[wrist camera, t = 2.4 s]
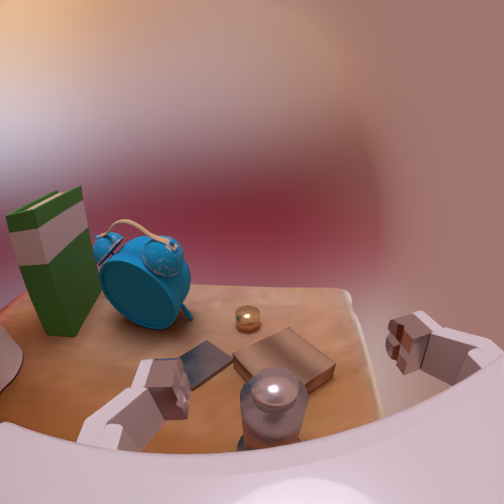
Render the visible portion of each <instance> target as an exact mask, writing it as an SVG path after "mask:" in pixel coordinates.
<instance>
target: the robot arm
mask: <svg viewBox="0 0 504 504" xmlns="http://www.w3.org/2000/svg"><path fill="white" fill-rule="evenodd" d="M388 329H389V331H390V334H389V335H388V336H387V338H386V351H387V353H388V355H389V356H390V358H391V359H393V360H396V361H397V364H396V366H397V367H398V368H399V369H400V371H401V372H402V374H403V375H406V374H408V373H411V372H414V371H417V370H419V369H421V370H422V371H424V372H426V373H428V374H430V375H432V376H434V377H436V378H438V379H440V380H442V381H444V382H446V383H448V384H450V385H452V387H450V388H448V389H446V390H444V391H442V392H440V393H439V394H437V395H435V396H433V397H431V398H429V399H427V400H425V401H423V402H420V403H418V404H416V405H414V406H412V407H409V408H407V409H405V410H402V411H400V412H397V413H395V414H393V415H390V416H387V417H385V418H382V419H380V420H377V421H374V422H371V423H368V424H365V425H362V426H359V427H356V428H353V429H350V430H347V431H343V432H340V433H336V434H333V435H329V436H325V437H321V438H317V439H313V440H308V441H304V442H299V443H294V444H289V445H283V446H278V447H271V448H265V449H257V450H249V451H240V452H228V453H212V454H160V453H144V452H141V450H142V449H143V448H144V447H145V446H146V445H147V443H148V442H149V441H150V440H151V439H152V437H153V436H154V435H155V434H156V433H157V431H158V430H159V429H160V428H161V427H162V425H163V424H164V423H165V422H166V421H165V420H186V419H187V418H188V409H189V406H188V403H187V400H188V399H189V398H190V384H189V379H188V376H187V374H185V373H184V372H183V368H184V365H183V363H182V360H181V359H180V358H169V359H143V360H142V361H141V362H140V364H139V367H138V369H137V372H136V375H135V377H134V380H133V383H132V386H131V388H126V389H125V390H124V391H123V392H121V393H120V394H119V395H117V396H116V397H115V398H113V399H112V400H111V401H109V402H108V403H107V404H106V405H104V406H103V407H102V408H100V409H99V410H98V411H96V412H95V413H94V414H92V415H91V416H90V417H88V418H87V419H86V420H85V422H84V424H83V427H82V429H81V432H80V434H79V437H78V439H77V442H72V441H68V440H64V439H60V438H56V437H52V436H49V435H45V434H42V433H39V432H35V431H32V430H29V429H26V428H24V427H21V426H19V425H16V424H13V423H10V422H3V423H0V504H504V351H502V350H501V349H500V348H499V347H498V346H497V345H495V344H494V343H493V342H492V341H491V340H490V339H487V338H483V337H479V336H475V335H472V334H468V333H464V332H460V331H457V330H453V329H449V328H442V327H440V326H439V325H438V324H437V323H436V322H435V321H434V320H433V319H431V318H430V317H429V316H428V315H427V314H426V313H424V312H423V311H420V310H419V311H416V312H413V313H411V314H409V315H405V316H402V317H399V318H396V319H393V320H390V322H389V326H388ZM22 357H23V355H22V350H21V348H20V346H19V345H18V344H17V343H16V342H15V341H14V340H13V339H12V338H11V337H10V335H9V334H8V333H7V331H6V330H5V329H4V327H3V326H2V324H1V322H0V391H1V390H2V389H3V388H4V387H5V386H6V385H7V384H8V383H9V382H10V381H11V380H12V379H13V378H14V377H15V375H16V374H17V372H18V370H19V368H20V366H21V363H22Z"/></svg>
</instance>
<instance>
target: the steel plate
mask: <svg viewBox="0 0 504 504" xmlns="http://www.w3.org/2000/svg"><path fill="white" fill-rule="evenodd" d="M179 358H180V359H181V360H182V363H183V365H184V368H183V372H184V373H185V374H187V376H188V379H189V384H190V389H191V390H192V391H193V390H195V389H196V388H198V387H199V386H200V385H202V384H203V383H205V382H206V381H208V380H209V379H210V378H212V377H213V376H215V375H216V374H217V373H219V372H220V371H222V370H223V369H224V368H226V367H227V366H228V365H230V364H231V363H232V362H233V358H232V357H230V356H229V355H227V354H226V353H224V352H223V351H221V350H220V349H218V348H217V347H216V346H214V345H213V344H211V343H210V342H208V341H207V340H206V341H205V342H203V343H201V344H200V345H198V346H197V347H195V348H193V349H192V350H190V351H188V352H187V353H185V354H184V355H182V356H180V357H179Z"/></svg>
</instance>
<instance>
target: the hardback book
mask: <svg viewBox="0 0 504 504" xmlns="http://www.w3.org/2000/svg"><path fill="white" fill-rule="evenodd" d="M6 220H7V225H8V229H9V233H10V237H11V241H12V245H13V248H14V251H15V255H16V258H17V262H18V265H19V267H20V271H21V274H22V277H23V279H24V282H25V285H26V288H27V290H28V293H29V296H30V298H31V301H32V303H33V305H34V308H35V310H36V312H37V315H38V317H39V319H40V321H41V323H42V326H43V328H44V330H45V332H46V334H47V335H52V336H65V337H76V335H77V333H78V332H79V330H80V328H81V326H82V324H83V322H84V320H85V319H86V317H87V315H88V313H89V311H90V310H91V308H92V306H93V304H94V303H95V301H96V299H97V298H98V296H99V294H100V293H101V291H102V288H101V285H100V281H99V272H98V269H97V265H96V262H95V260H94V257H93V249H92V244H91V239H90V235H89V230H88V225H87V219H86V214H85V209H84V202H83V195H82V189H81V186H78V187H75V188H73V189H71V190H69V191H67V192H65V193H59V194H58V191H53V192H51V193H49V194H47V195H45V196H43V197H41V198H39V199H36V200H35V201H32V202H31V203H29V204H27V205H25V206H23V207H21V208H19V209H17V210H15V211H14V212H12V213H10V214H8V215H6Z"/></svg>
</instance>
